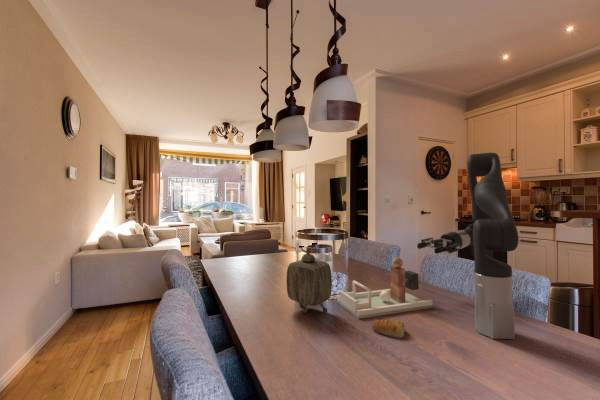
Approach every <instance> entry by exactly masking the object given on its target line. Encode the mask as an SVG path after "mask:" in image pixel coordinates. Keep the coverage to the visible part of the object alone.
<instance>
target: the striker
mask: <svg viewBox="0 0 600 400" xmlns="http://www.w3.org/2000/svg"><path fill="white" fill-rule="evenodd" d="M403 261H404V260H403V259H402V258H401V257H398V256H395V257H394V258H393V259H392V261H391V265H392V266H389V269H390V271H389V274H390V277H389V278H390V280H389V281H390V282H389V283H390V288H389V289H390V290H391V298H392V299H394V300H396V301H398V302H401V301H405V292H406V289H409V290H411V291H415V290H419V285H420V284H419V273H417V272H415V271H411V270H406V269H405V268H404V267H402V266H403V265H404V262H403Z"/></svg>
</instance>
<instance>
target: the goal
mask: <svg viewBox="0 0 600 400" xmlns="http://www.w3.org/2000/svg"><path fill="white" fill-rule="evenodd" d="M356 285H357V286H358V287H360V288H362V289H363V290H366V292H368V302H361V303H358V301H357V300H356V293H357V291H356V289H357V288H356V287H357V286H356ZM371 291H372V289H371V288H370V287H367V286H365V285H364V284H362V283H360V282H358V281H356V280H352V291H350V292H349V291H348V292H345V291H344V290H339V294H338V295H340V302H341V303H343V304H344V305H345V306H346V307H348V308H349V309H350V310H352V311H353V312H354V313H357V310H360V309H367V308H372V298H371Z"/></svg>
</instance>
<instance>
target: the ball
mask: <svg viewBox="0 0 600 400" xmlns="http://www.w3.org/2000/svg"><path fill="white" fill-rule="evenodd" d="M380 299H381V300H382V301H384V302H388V301H389V300H390V299H391V295H390V293H389V292H388V291H382V292H381V293H380Z"/></svg>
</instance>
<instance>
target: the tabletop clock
mask: <svg viewBox="0 0 600 400" xmlns="http://www.w3.org/2000/svg"><path fill="white" fill-rule="evenodd" d="M313 247H314V250H311V251H310V249H309V248H307V249H306V250H305V249H303V247H300V250H301V251H302V252H303V253H304V254H303V255H302V257H301V260H297V261H294V262H293V261H292V262H290V263H289V264H288V266H287V269H286V293H287V297H288V299H290V300H291V301H294V302H297V303H299V305H300V306H301V307H303V306H304V308H303V309H302V313H303V314H307V313H308V309H307V306H313V307H315V306H318V305H319V306H321V308H322V312H323V313H327V312H328V308H326V307H325V306H324V305H323V303H325V302H326V301H329V300H330V299H331V296H332V290H333V289H332V285H333V278H332V270H331V266H330V264H329V263H328V262H327V261H324V260H319V259H316V257H315V256H314V254H313V253H315V252H316V250H317V245H316V244H313Z"/></svg>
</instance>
